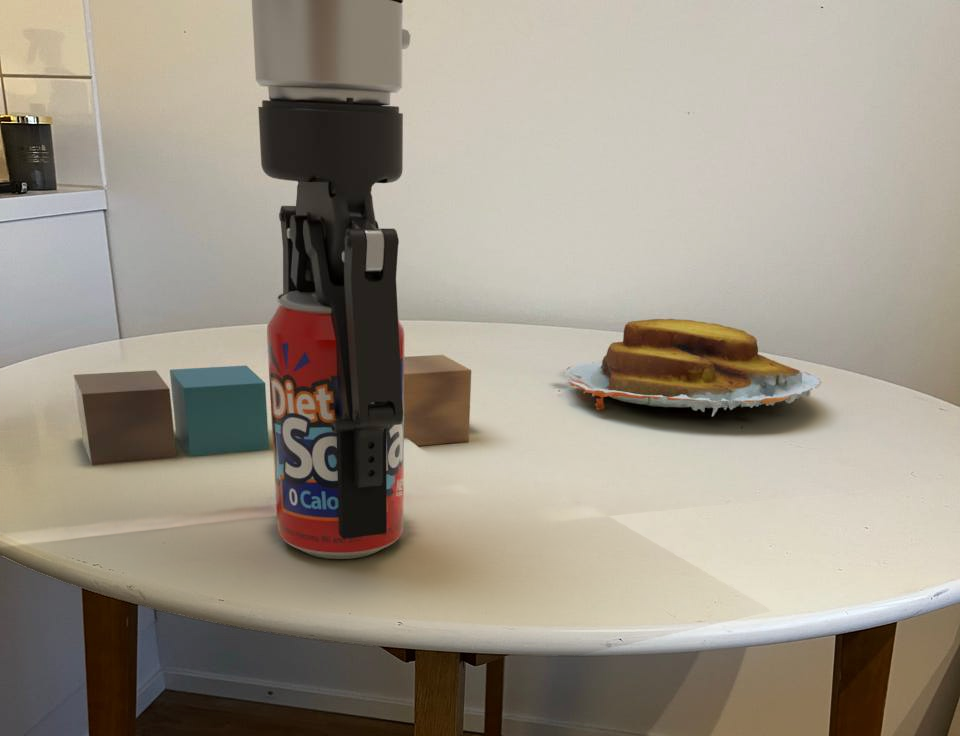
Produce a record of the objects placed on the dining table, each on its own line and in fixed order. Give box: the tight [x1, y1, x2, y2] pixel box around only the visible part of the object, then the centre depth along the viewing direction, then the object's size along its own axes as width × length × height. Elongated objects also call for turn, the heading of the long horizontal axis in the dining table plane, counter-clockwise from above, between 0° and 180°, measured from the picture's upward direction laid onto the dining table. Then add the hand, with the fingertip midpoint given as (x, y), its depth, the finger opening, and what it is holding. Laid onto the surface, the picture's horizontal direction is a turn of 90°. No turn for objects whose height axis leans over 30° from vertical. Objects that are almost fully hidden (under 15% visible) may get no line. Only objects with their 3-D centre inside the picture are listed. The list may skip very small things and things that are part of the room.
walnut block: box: [73, 369, 177, 466], centre depth 76 cm, size 6×6×6 cm
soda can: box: [266, 291, 405, 560], centre depth 61 cm, size 8×8×15 cm
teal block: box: [169, 364, 270, 457], centre depth 79 cm, size 6×6×6 cm
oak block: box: [404, 354, 472, 447], centre depth 85 cm, size 6×6×6 cm
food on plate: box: [557, 318, 822, 429], centre depth 100 cm, size 25×25×7 cm
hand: (340, 509), depth 63 cm, fingers closed on soda can, 8 cm apart
